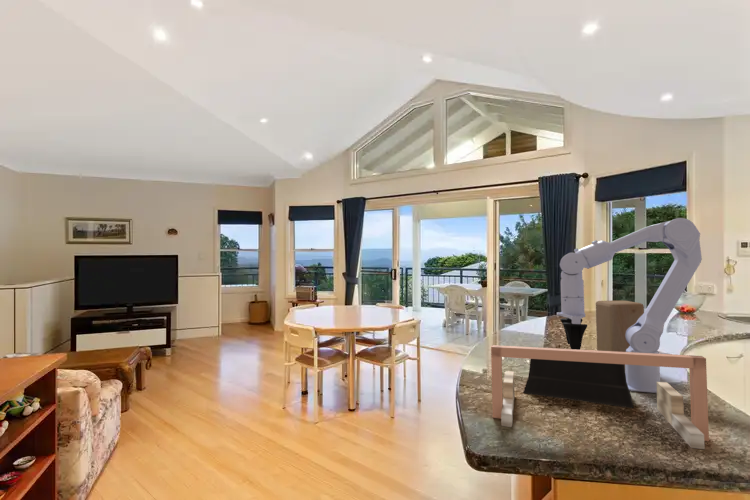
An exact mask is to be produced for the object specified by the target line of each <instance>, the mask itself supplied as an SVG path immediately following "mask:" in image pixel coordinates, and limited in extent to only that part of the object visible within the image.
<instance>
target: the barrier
mask: <svg viewBox="0 0 750 500" xmlns="http://www.w3.org/2000/svg"><path fill="white" fill-rule="evenodd" d="M528 370H529V371H528V377H527V380H526V382H525V386H524V389H523V394H525V395H526V394H527V395H535V396H541V397H542V396H543V397H547V398H548V397H550V398H556V399H563V400H570V401H577V402H584V403H585V402H586V403H592V404H601V405H608V406H612V407H613V406H615V407H622V408H629V409H634V405H633V397H632V393H631V391H630V390H629V388H628V385H627V381H626V375H625V368H624V364H610V363H593V362H577V361H560V360H544V359H530V361H529V369H528Z"/></svg>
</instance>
